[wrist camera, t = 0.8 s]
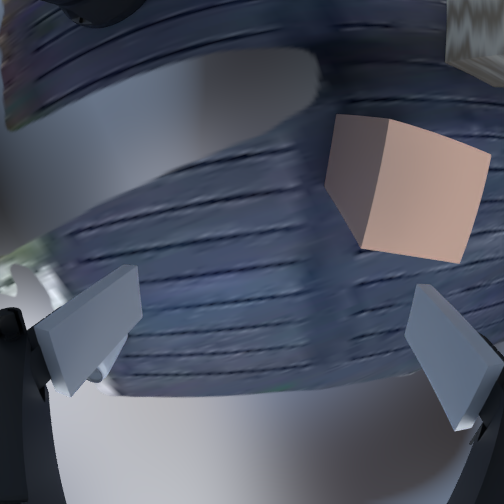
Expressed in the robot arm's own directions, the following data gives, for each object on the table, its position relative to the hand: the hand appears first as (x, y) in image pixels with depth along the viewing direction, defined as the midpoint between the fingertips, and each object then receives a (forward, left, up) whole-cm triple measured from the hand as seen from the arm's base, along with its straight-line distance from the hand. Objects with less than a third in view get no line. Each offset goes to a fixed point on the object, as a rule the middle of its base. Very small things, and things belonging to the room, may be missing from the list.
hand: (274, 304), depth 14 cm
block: (+1, +13, -29) cm, 32 cm away
